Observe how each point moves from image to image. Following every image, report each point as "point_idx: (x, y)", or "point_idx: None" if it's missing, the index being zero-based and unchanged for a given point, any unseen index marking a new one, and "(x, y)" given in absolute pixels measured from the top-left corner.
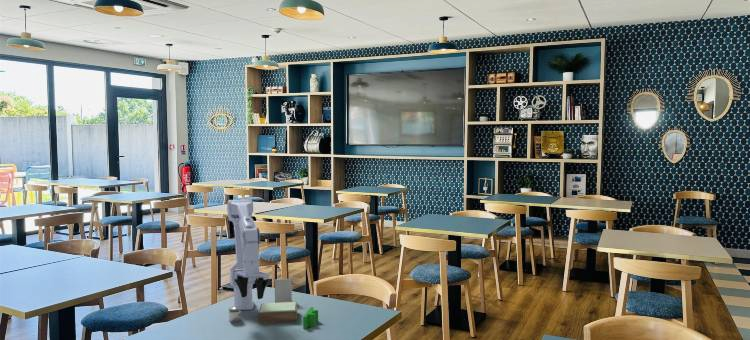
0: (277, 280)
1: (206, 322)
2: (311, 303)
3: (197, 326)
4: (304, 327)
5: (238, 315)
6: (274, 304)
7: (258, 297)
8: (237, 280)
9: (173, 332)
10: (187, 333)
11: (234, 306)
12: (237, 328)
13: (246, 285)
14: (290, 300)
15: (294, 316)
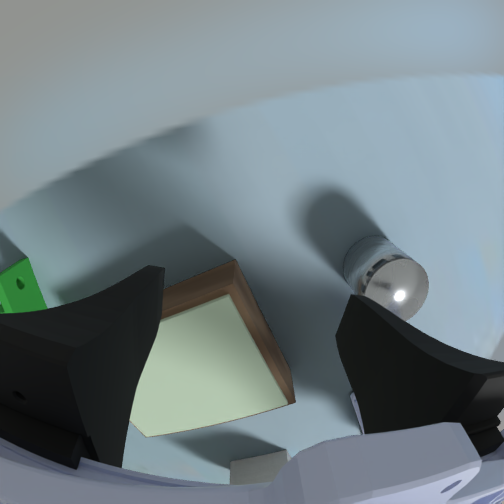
0: None
1: (474, 210)
2: (168, 466)
3: (484, 157)
4: (22, 260)
5: (359, 264)
6: (215, 404)
7: (148, 268)
8: (490, 371)
9: None
10: (476, 75)
11: (409, 312)
12: (309, 165)
13: (367, 411)
14: (232, 469)
15: None
